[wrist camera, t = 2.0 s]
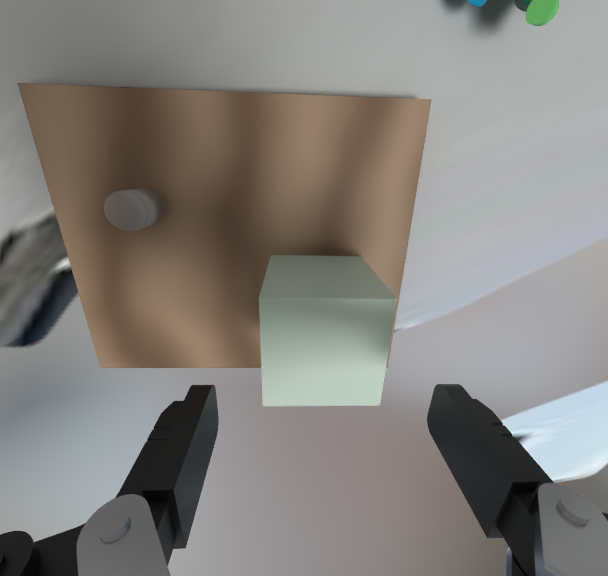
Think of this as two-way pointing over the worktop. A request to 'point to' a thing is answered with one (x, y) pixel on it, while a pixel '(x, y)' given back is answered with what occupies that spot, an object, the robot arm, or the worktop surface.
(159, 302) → the board
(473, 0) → the gear
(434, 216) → the worktop surface
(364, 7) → the worktop surface
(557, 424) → the worktop surface
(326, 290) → the pale green block
